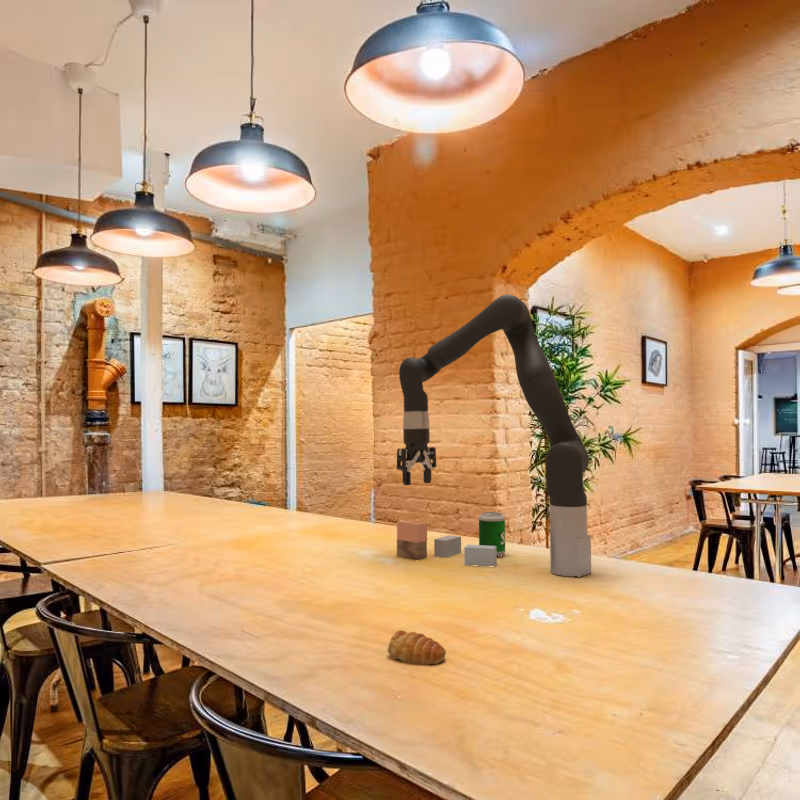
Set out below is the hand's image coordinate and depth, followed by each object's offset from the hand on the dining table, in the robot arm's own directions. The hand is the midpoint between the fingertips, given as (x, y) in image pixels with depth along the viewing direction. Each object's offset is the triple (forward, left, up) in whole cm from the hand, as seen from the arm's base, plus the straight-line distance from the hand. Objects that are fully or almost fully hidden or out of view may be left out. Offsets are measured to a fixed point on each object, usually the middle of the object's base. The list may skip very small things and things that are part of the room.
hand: (417, 484), depth 181 cm
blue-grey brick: (-19, -5, -21) cm, 29 cm away
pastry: (-52, +56, -21) cm, 79 cm away
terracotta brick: (+1, +1, -16) cm, 16 cm away
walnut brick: (+1, +1, -21) cm, 21 cm away
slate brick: (-4, -9, -21) cm, 23 cm away
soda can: (-14, -17, -21) cm, 30 cm away
